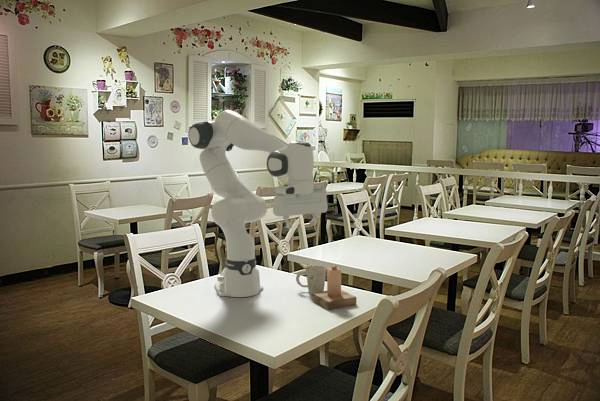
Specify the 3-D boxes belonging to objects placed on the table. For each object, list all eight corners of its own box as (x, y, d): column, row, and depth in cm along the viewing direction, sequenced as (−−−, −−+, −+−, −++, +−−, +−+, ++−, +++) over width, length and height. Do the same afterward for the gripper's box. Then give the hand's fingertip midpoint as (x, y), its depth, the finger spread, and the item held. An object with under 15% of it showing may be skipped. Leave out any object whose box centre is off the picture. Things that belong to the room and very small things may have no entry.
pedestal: (312, 300, 193) (312, 293, 192) (338, 295, 198) (338, 288, 198) (329, 310, 182) (329, 302, 182) (356, 304, 188) (356, 297, 187)
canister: (324, 294, 191) (324, 265, 189) (336, 292, 193) (336, 263, 192) (332, 298, 186) (332, 268, 185) (343, 295, 189) (343, 266, 187)
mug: (324, 295, 198) (324, 271, 197) (293, 294, 201) (293, 269, 200) (327, 289, 206) (327, 266, 205) (297, 288, 209) (297, 264, 208)
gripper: (321, 185, 182) (321, 223, 184) (270, 188, 172) (271, 228, 174) (331, 187, 177) (330, 225, 178) (278, 190, 167) (279, 231, 169)
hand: (301, 227), depth 176 cm, fingers open, 8 cm apart
